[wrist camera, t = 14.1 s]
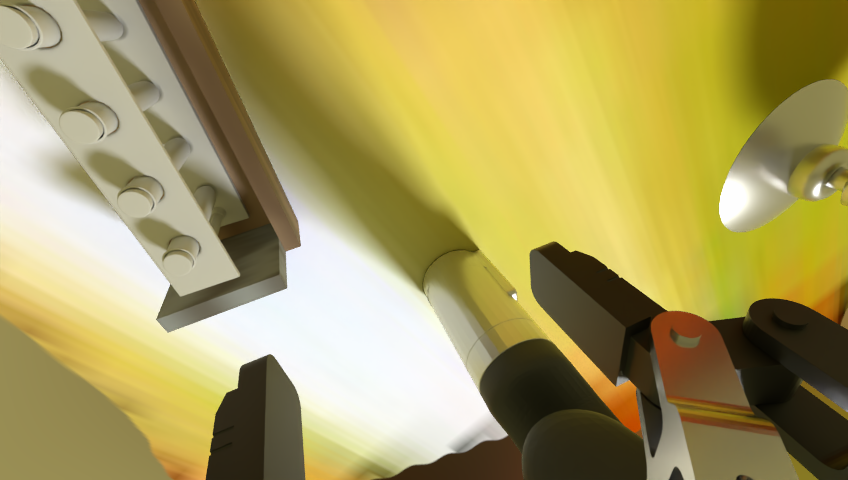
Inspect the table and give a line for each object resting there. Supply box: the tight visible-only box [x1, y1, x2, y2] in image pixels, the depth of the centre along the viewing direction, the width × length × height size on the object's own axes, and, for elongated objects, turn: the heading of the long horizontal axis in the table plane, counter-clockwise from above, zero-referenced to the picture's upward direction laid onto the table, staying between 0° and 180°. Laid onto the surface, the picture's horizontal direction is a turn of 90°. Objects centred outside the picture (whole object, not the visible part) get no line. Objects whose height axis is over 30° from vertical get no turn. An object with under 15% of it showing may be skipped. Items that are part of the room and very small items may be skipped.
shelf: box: [21, 0, 301, 332], centre depth 25 cm, size 12×31×12 cm, turn 12°
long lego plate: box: [0, 0, 250, 297], centre depth 24 cm, size 25×4×13 cm, turn 11°
